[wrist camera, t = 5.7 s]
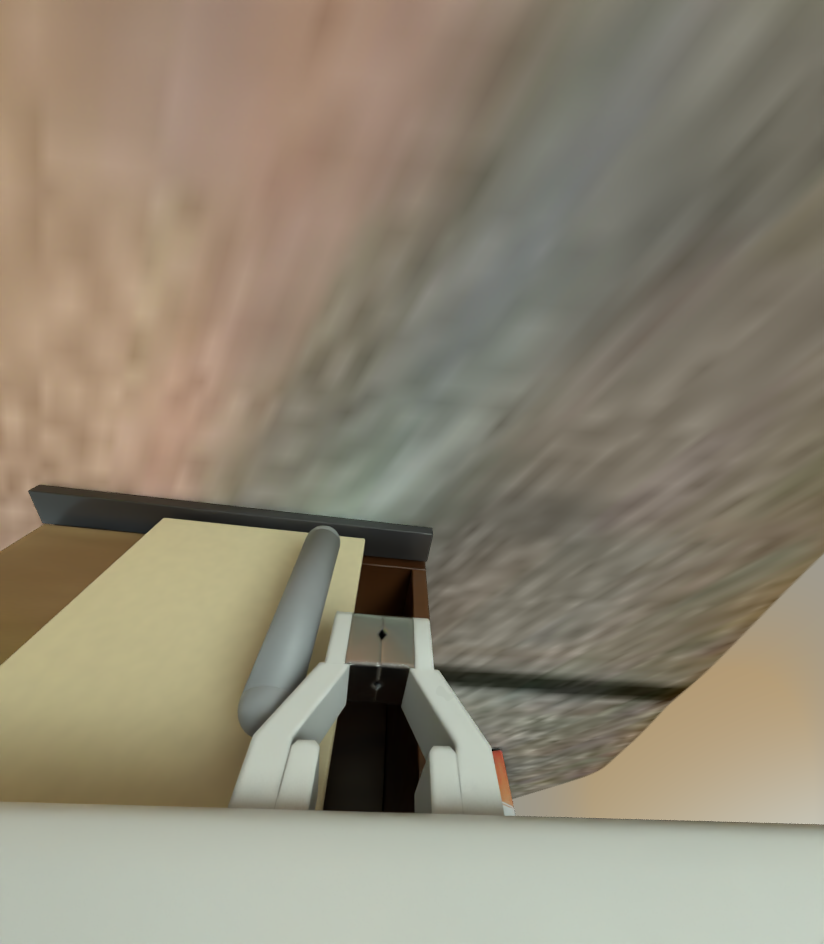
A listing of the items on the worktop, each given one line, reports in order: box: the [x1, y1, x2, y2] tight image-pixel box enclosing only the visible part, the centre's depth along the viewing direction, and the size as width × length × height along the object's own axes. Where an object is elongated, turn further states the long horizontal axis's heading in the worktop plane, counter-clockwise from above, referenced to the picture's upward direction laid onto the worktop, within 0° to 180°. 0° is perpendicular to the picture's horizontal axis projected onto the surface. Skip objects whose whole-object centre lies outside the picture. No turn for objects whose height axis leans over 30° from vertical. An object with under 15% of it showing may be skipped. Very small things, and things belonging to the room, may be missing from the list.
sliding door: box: [0, 518, 365, 810], centre depth 11 cm, size 4×10×11 cm, turn 81°
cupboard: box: [0, 485, 433, 813], centre depth 15 cm, size 14×20×12 cm
